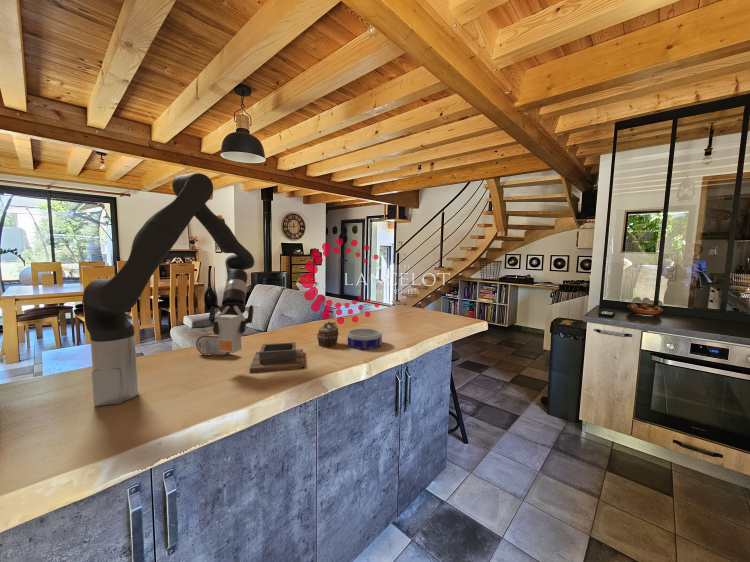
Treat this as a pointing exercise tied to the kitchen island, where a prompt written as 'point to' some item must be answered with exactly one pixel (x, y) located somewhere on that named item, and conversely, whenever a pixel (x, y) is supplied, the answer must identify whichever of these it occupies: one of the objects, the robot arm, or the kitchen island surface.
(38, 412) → the kitchen island surface
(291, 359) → the bottle holder
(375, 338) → the dog bowl
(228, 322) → the skincare box
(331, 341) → the cupcake
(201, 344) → the tin
